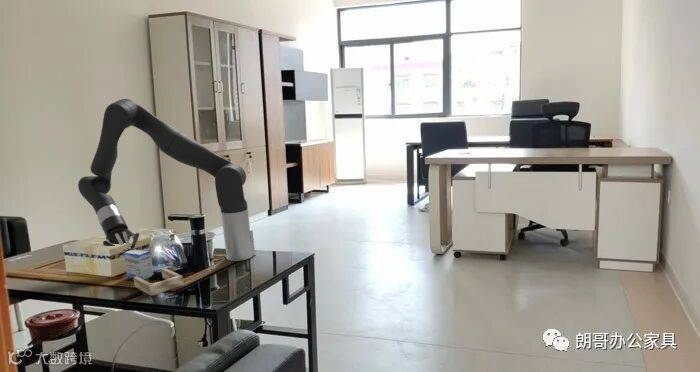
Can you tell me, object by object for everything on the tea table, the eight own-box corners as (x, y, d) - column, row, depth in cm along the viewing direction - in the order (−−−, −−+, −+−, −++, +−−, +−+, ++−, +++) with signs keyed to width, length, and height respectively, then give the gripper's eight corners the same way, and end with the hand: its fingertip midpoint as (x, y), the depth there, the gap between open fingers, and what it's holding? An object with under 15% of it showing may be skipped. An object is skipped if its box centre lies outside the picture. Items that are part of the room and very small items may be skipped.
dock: (166, 276, 173) (164, 268, 173) (183, 284, 165) (182, 275, 164) (134, 286, 166) (133, 277, 166) (151, 295, 158) (149, 286, 157)
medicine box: (126, 277, 175) (122, 252, 174) (137, 273, 179) (133, 248, 178) (143, 280, 172) (139, 254, 170) (154, 275, 176) (150, 250, 174)
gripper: (93, 218, 179) (112, 260, 172) (132, 210, 188) (152, 249, 181) (90, 231, 184) (109, 272, 177) (128, 222, 193) (147, 261, 186)
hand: (131, 260), depth 179 cm, fingers closed
